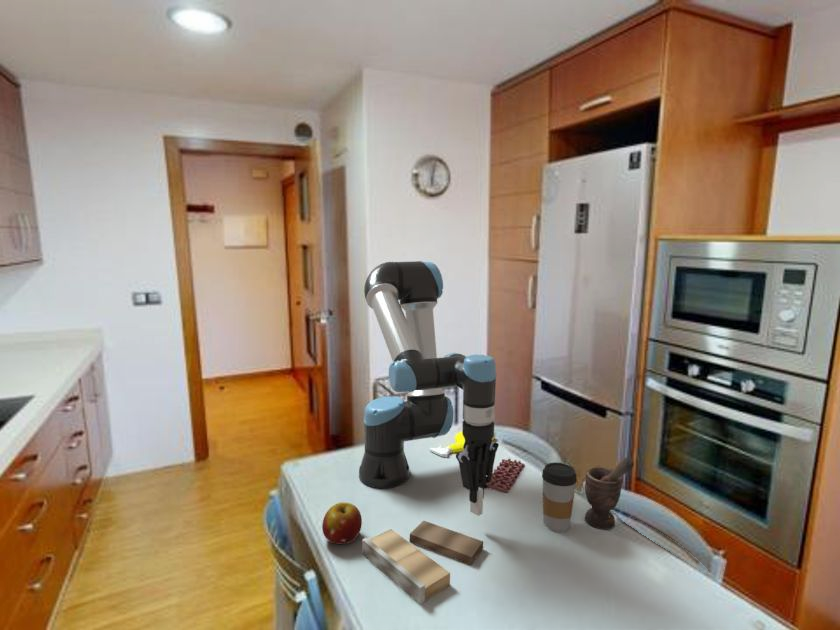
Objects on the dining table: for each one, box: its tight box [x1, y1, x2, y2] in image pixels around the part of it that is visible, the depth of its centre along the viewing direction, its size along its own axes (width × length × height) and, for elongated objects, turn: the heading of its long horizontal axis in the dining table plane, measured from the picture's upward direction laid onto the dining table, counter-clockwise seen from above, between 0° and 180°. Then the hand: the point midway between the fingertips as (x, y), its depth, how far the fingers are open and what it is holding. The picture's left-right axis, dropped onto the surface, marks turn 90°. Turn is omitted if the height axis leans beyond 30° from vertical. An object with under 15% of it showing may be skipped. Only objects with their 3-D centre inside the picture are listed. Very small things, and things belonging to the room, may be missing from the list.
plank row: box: [361, 528, 451, 605], centre depth 106 cm, size 20×8×4 cm, turn 41°
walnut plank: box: [409, 520, 484, 566], centre depth 114 cm, size 16×6×2 cm, turn 59°
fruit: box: [321, 501, 363, 545], centre depth 116 cm, size 10×9×8 cm
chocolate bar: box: [486, 458, 526, 494], centre depth 148 cm, size 7×19×2 cm, turn 153°
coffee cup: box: [541, 462, 577, 533], centre depth 122 cm, size 8×8×15 cm
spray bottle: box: [428, 430, 496, 459], centre depth 169 cm, size 3×11×24 cm
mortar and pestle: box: [584, 456, 635, 530], centre depth 122 cm, size 12×9×20 cm
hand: (476, 512), depth 120 cm, fingers closed
